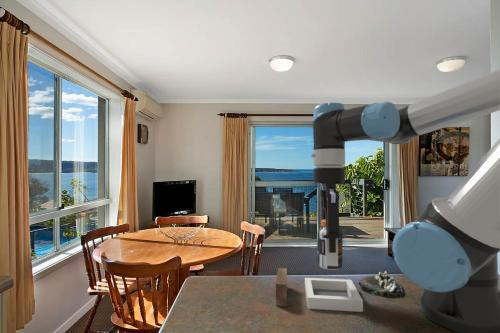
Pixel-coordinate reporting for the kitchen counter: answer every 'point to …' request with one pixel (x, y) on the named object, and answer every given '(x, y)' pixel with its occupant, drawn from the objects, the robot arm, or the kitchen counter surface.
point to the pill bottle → (322, 248)
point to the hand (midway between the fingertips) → (329, 260)
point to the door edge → (281, 287)
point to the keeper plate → (332, 295)
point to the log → (381, 286)
